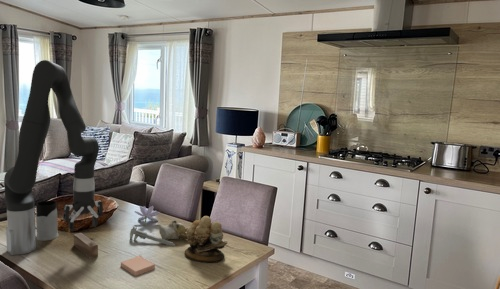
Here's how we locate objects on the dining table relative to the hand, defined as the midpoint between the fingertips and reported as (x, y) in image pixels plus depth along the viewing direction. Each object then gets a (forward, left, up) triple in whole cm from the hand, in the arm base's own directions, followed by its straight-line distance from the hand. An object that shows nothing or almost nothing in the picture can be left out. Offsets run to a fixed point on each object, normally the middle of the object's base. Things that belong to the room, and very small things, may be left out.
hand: (83, 228), depth 146 cm
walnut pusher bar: (+1, +1, -10) cm, 10 cm away
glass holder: (-7, +27, -10) cm, 30 cm away
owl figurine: (+34, -34, -10) cm, 49 cm away
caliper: (+26, -9, -10) cm, 29 cm away
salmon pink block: (+9, -20, -9) cm, 24 cm away
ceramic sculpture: (+36, -12, -10) cm, 39 cm away
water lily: (+37, +13, -10) cm, 41 cm away
